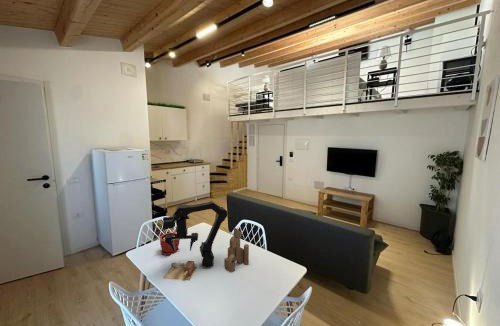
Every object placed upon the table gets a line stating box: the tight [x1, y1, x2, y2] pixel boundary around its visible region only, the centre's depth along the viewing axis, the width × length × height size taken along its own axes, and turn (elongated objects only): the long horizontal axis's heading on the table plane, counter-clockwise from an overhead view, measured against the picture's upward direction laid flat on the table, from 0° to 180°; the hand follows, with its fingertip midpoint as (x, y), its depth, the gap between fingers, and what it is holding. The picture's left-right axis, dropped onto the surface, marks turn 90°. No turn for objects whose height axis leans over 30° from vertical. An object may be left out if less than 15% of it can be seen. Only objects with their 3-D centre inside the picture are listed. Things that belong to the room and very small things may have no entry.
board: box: [162, 262, 198, 281], centre depth 133 cm, size 16×14×4 cm
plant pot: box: [159, 232, 181, 256], centre depth 158 cm, size 13×13×12 cm
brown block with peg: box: [183, 260, 195, 279], centre depth 130 cm, size 4×11×6 cm, turn 174°
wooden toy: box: [223, 227, 250, 273], centre depth 141 cm, size 15×7×25 cm, turn 131°
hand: (182, 251), depth 134 cm, fingers open, 9 cm apart
